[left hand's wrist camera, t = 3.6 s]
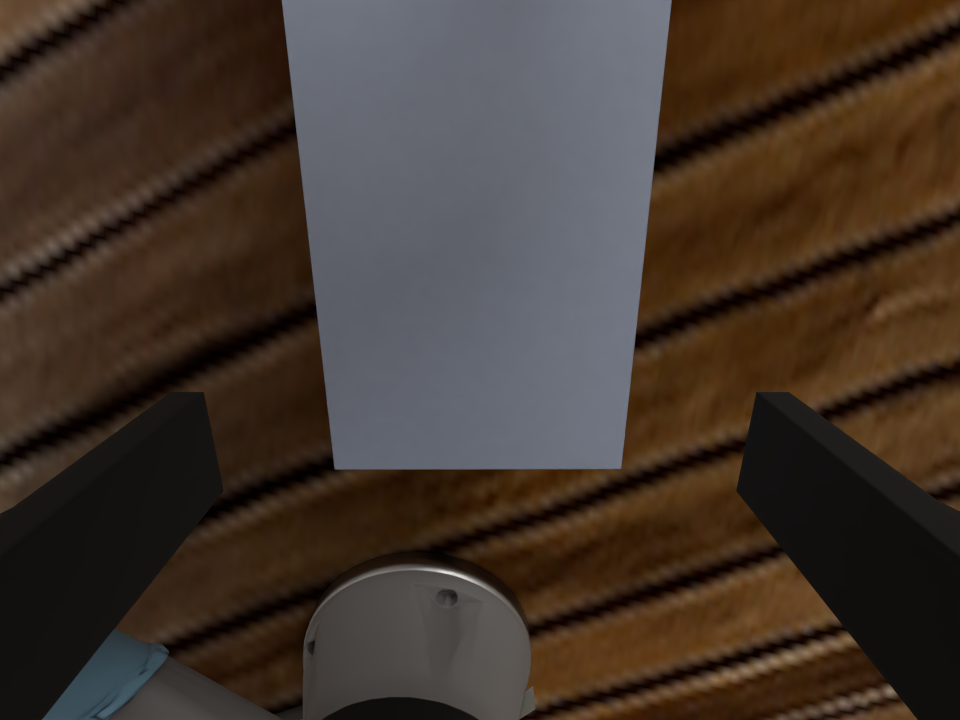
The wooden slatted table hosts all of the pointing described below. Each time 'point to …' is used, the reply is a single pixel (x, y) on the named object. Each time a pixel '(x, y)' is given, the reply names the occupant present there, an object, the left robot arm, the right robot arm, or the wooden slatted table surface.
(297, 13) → the cabinet
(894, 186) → the wooden slatted table surface
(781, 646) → the wooden slatted table surface
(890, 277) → the wooden slatted table surface
